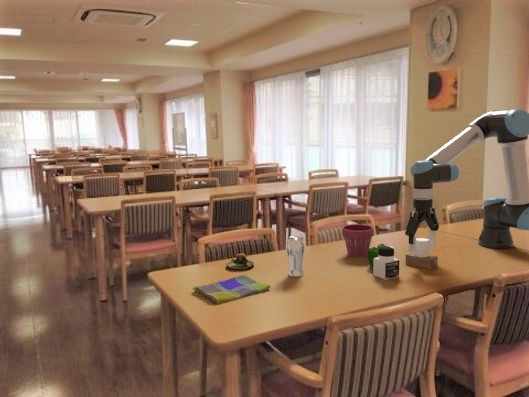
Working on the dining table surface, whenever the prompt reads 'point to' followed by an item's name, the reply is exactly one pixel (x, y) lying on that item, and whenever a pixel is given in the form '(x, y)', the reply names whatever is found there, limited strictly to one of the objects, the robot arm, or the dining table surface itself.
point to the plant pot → (357, 239)
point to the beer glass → (295, 255)
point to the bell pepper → (373, 254)
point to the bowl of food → (240, 262)
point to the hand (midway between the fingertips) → (422, 248)
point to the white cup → (422, 247)
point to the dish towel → (231, 289)
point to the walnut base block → (422, 261)
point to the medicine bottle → (386, 263)
